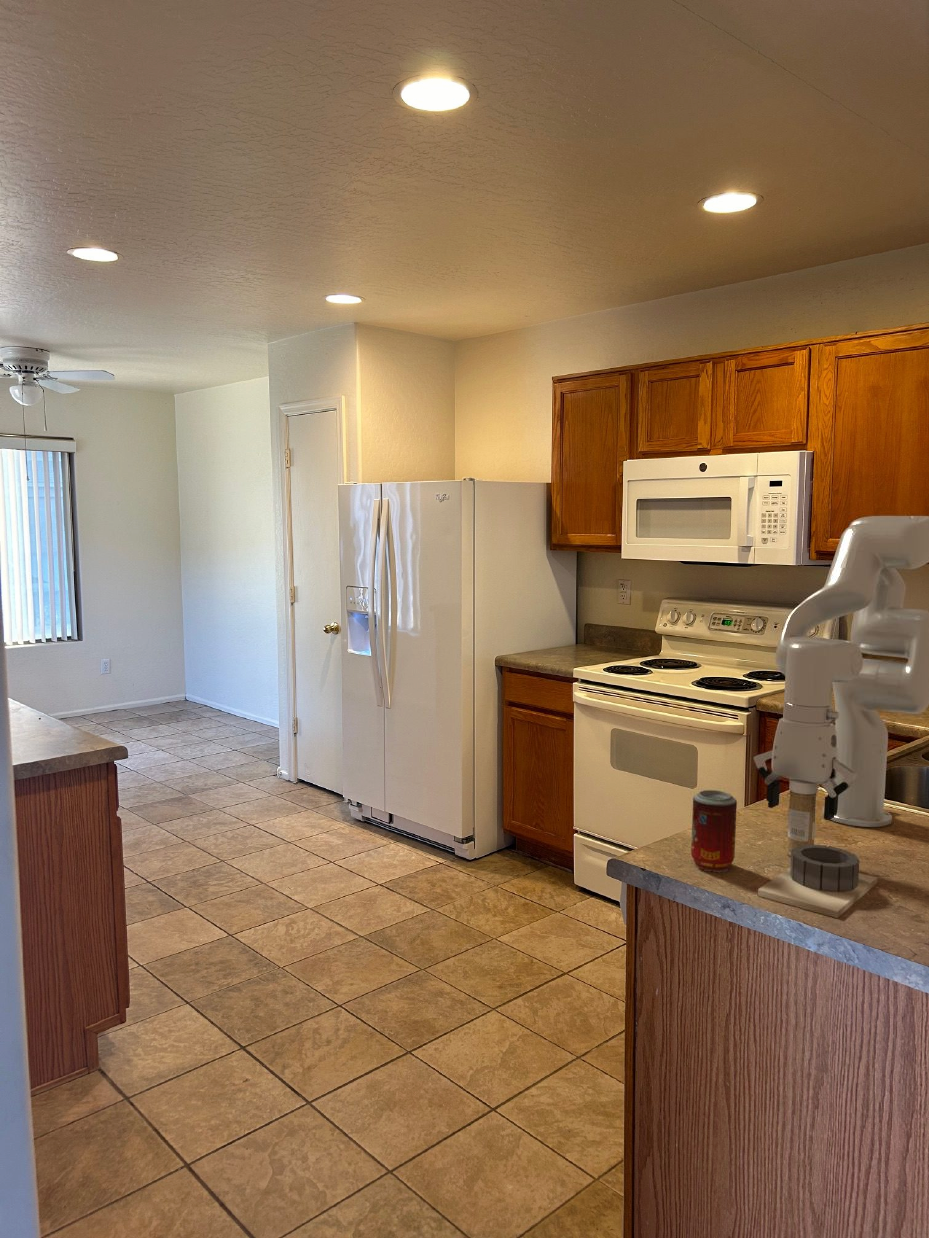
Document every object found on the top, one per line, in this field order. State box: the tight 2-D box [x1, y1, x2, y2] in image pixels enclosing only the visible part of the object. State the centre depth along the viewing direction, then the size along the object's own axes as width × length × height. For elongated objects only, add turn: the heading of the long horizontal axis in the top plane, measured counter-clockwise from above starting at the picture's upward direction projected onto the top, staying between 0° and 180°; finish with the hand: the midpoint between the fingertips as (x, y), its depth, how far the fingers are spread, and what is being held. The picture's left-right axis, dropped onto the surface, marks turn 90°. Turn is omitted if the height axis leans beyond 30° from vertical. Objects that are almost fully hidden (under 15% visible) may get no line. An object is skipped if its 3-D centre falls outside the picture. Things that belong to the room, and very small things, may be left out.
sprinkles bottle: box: [786, 778, 819, 858], centre depth 157 cm, size 5×5×14 cm
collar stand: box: [757, 844, 878, 919], centre depth 143 cm, size 18×12×5 cm, turn 139°
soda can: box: [690, 789, 738, 873], centre depth 152 cm, size 7×7×12 cm
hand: (800, 812), depth 157 cm, fingers open, 9 cm apart
